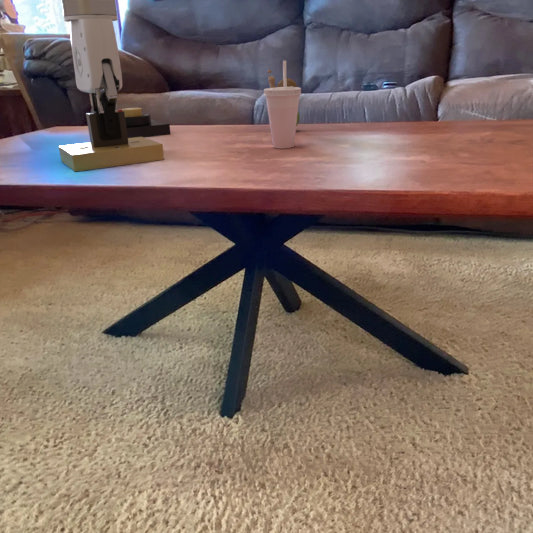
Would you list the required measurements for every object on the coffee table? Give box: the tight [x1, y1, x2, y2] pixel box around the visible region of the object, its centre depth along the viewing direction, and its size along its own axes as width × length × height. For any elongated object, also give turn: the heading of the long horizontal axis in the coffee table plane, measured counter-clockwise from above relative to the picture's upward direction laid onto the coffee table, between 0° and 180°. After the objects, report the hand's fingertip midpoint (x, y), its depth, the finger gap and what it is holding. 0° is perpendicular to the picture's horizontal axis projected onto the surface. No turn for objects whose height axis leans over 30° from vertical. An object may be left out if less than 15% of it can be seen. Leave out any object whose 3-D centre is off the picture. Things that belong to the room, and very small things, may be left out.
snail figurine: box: [267, 69, 300, 127], centre depth 104 cm, size 5×6×12 cm
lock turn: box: [85, 108, 128, 147], centre depth 81 cm, size 6×2×5 cm, turn 122°
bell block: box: [125, 113, 171, 138], centre depth 107 cm, size 12×10×4 cm
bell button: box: [121, 107, 143, 117], centre depth 106 cm, size 4×4×2 cm
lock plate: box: [58, 137, 165, 172], centre depth 82 cm, size 14×10×3 cm
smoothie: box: [263, 60, 302, 149], centre depth 87 cm, size 6×6×14 cm
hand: (108, 137), depth 81 cm, fingers closed on lock turn, 2 cm apart
